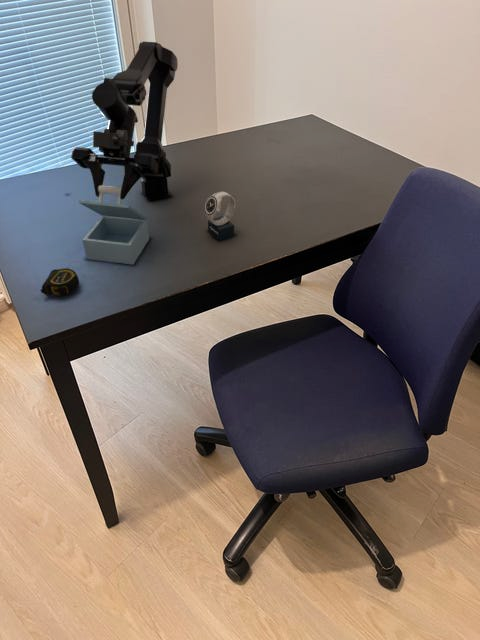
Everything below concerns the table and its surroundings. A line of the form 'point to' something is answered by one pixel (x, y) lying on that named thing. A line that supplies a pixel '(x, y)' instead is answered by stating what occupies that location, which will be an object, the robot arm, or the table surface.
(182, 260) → the table surface
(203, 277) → the table surface
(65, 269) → the tape measure
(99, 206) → the compartment lid
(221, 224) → the watch
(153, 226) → the table surface
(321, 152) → the table surface
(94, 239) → the compartment
